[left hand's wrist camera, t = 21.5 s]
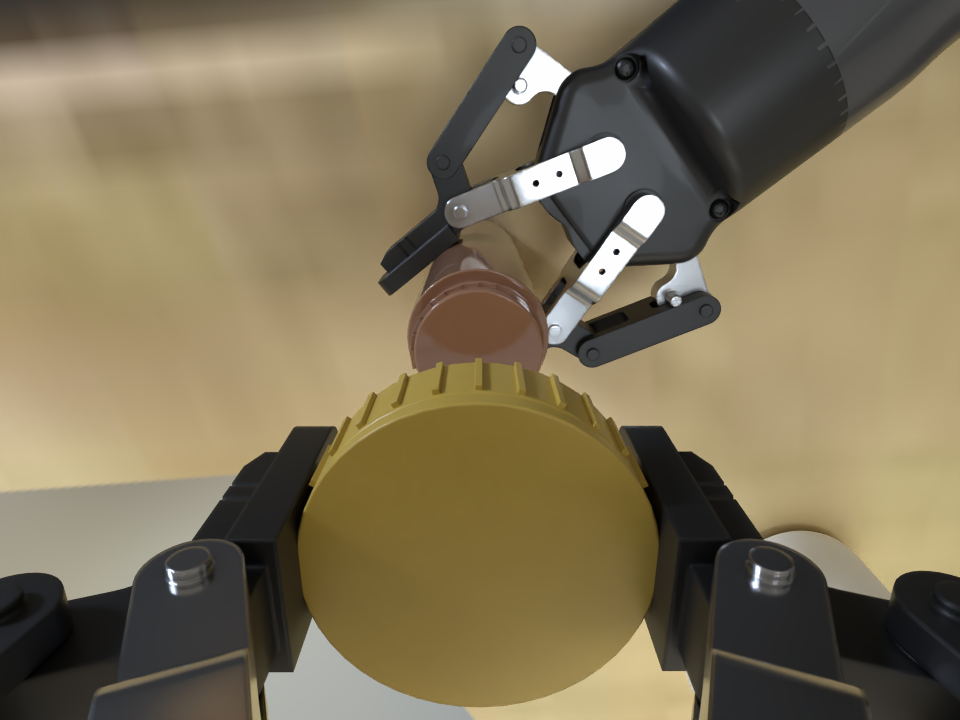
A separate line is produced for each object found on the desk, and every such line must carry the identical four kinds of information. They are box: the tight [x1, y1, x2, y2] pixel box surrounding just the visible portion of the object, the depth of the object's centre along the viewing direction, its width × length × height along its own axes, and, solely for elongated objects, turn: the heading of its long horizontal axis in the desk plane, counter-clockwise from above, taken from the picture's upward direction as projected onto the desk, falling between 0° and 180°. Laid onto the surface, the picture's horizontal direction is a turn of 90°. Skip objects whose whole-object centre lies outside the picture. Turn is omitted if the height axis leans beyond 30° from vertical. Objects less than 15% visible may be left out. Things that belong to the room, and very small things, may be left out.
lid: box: [297, 358, 659, 707], centre depth 10 cm, size 5×6×2 cm
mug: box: [686, 531, 891, 694], centre depth 34 cm, size 12×8×10 cm
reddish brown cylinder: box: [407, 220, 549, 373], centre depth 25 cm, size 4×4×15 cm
